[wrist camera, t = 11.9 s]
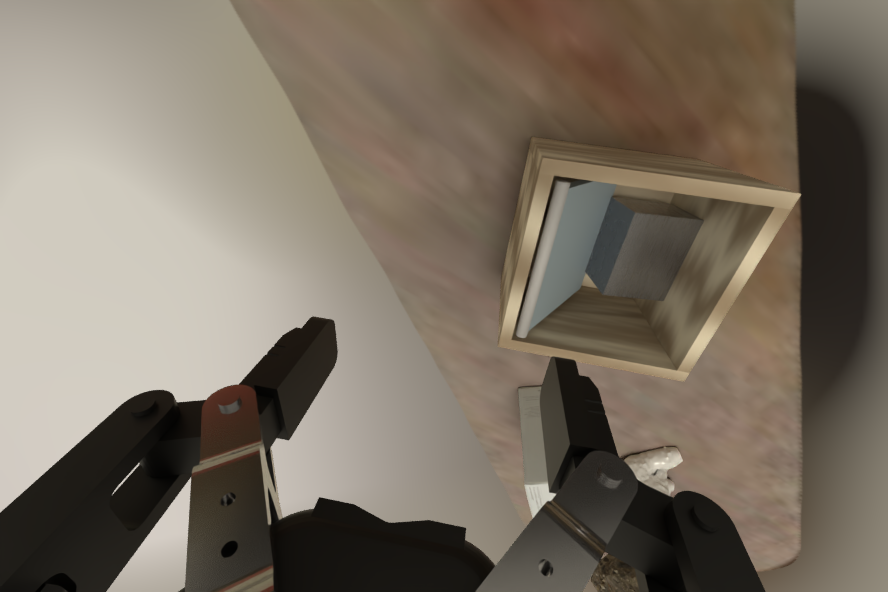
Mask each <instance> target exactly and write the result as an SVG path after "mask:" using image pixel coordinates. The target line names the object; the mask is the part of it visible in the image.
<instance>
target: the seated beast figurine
mask: <svg viewBox="0 0 888 592" xmlns="http://www.w3.org/2000/svg"><path fill="white" fill-rule="evenodd" d="M682 461H683V460H682V457H681V455H680V453H679V451H678V449H677V447H665V446H664V447H663V448H660V449H655V450H651V451H647V452H642V453H640V454H635V455H629V456H628V457H627V458H625V459H624V462H626V463H627V464H628V465H629V467H630V468H631V469H632V471H633V472H634V474H635V476H636V478H637V479H638V480H639V481H641V482H642V483H644V484H646V485H647V486H649V487H652V488H654V489H656V490H658V491H660V492H662V493H664V494H666V495H668V496H670V493H671V491H673V490H674V483H673V481H671V480H669V479H667V470H669V469H670V468H674V467H676V466H677V465H678V464H679V463H681V462H682Z"/></svg>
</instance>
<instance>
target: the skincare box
mask: <svg viewBox="0 0 888 592" xmlns="http://www.w3.org/2000/svg"><path fill="white" fill-rule="evenodd" d="M541 387H542V386H540V387H521V388H519V389H518V396H519V409H520V424H521V438H522V451H523V465H524V483H525V484H524V485H525V490H526V495H527V499H528V503H529V507H530V510H531V514H532V517H533V518H534V516H535V515H536V514H537V513H538V511H539V510H540V509H541V508H542V506H543V505H544V504H545V503H546V502H547V501H551V500H552V499H553V498H554V497H555V495H556V494H554V493H549V488H548V478H547V468H546V459H545V449H544V440H543V430H542V421H541V411H540V392H541Z"/></svg>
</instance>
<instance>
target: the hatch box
mask: <svg viewBox="0 0 888 592" xmlns="http://www.w3.org/2000/svg"><path fill="white" fill-rule="evenodd" d="M556 180H564V181H568V182H570V183H571V182H574V181H578V180H589V181H596V182H603V183H610V184H617V186H616V189H615V192H614V194H613V197H618V198H626V199H635V200H644V201H653V202H661V203H670V204H673V205H675V206H677V207H679V208H681V209H683V210H685V211H687V212H689V213H691V214H693V215H695V216H697V217H699V218H700V219H702V220H704V222H703V224H702V226H701V228H700V230H699V232H698V234H697V236H696V238H695V240H694V242H693V244H692V246H691V248H690V250H689V252H688V254H687V256H686V258H685V260H684V262H683V264H682V266H681V268H680V270H679V272H678V274H677V276H676V278H675V280H674V282H673V284H672V286H671V288H670V290H669V292H668V294H667V296H666V297H665V299H664V301H658V300H648V299H638V298H628V297H618V296H608V295H602V293H601V292H600V291H599V289H598V288H597V287H596V285H595V284H594V283H593V281H592V280H591V279H590V277H589V276H588V275H587V273H586V274H585V277H584V279H583V282H582V285H581V288H580V289H579V290H578V291H577V292H575V293H574V294H573V295H572V296H571V297H569V298H568V299H567V300H566V301H564V302H563V303H562V304H561V305H560V306H558V307H557V308H556V309H555V310H554V311H552V312H551V313H550V314H549V315H548V316H546V317H545V318H544V319H543V320H541V321H540V322H539V323H538V324H537V325H535V326H534V327H533V328H532V329H531V330H529V331H528V334H527V337H526V338H520V337H518V336H517V335H516V330H517V326H518V322H519V319H520V315H521V311H522V307H523V303H524V300H525V296H526V292H527V288H528V285H529V281H530V277H531V273H532V269H533V266H534V262H535V258H536V254H537V250H538V247H539V243H540V239H541V235H542V232H543V228H544V224H545V220H546V216H547V213H548V209H549V205H550V201H551V197H552V194H553V190H554V186H555V182H556ZM800 195H801V194H800V193H797V192H794V191H791V190H788V189H785V188H782V187H779V186H776V185H773V184H770V183H767V182H764V181H761V180H758V179H755V178H752V177H749V176H746V175H743V174H740V173H737V172H734V171H731V170H729V169H726V168H723V167H720V166H717V165H714V164H711V163H708V162H705V161H702V160H699V159H692V158H685V157H678V156H670V155H663V154H655V153H648V152H641V151H633V150H626V149H618V148H611V147H604V146H596V145H589V144H581V143H574V142H567V141H559V140H552V139H544V138H537V137H531V142H530V147H529V151H528V156H527V161H526V165H525V170H524V174H523V179H522V184H521V188H520V193H519V197H518V202H517V207H516V211H515V216H514V221H513V225H512V230H511V234H510V239H509V244H508V248H507V253H506V258H505V262H504V267H503V271H502V276H501V293H500V313H499V334H498V347H502V348H508V349H513V350H518V351H524V352H529V353H534V354H540V355H545V356H550V357H552V356H555V357H561V358H567V359H573V360H575V361H577V362H582V363H587V364H593V365H598V366H603V367H609V368H614V369H619V370H625V371H630V372H635V373H641V374H646V375H651V376H657V377H662V378H667V379H673V380H678V381H683V382H684V381H685V379H686V378H687V376H688V374H689V373H690V371H691V370H692V368H693V366H694V365H695V363H696V362H697V360H698V358H699V357H700V355H701V354H702V352H703V350H704V349H705V347H706V346H707V344H708V342H709V341H710V339H711V338H712V336H713V334H714V333H715V331H716V330H717V328H718V326H719V325H720V323H721V322H722V320H723V318H724V317H725V315H726V314H727V312H728V310H729V309H730V307H731V306H732V304H733V302H734V301H735V299H736V298H737V296H738V294H739V293H740V291H741V290H742V288H743V286H744V285H745V283H746V282H747V280H748V278H749V277H750V275H751V274H752V272H753V270H754V269H755V267H756V266H757V264H758V262H759V261H760V259H761V258H762V256H763V254H764V253H765V251H766V250H767V248H768V246H769V245H770V243H771V242H772V240H773V238H774V237H775V235H776V234H777V232H778V230H779V229H780V227H781V226H782V224H783V222H784V221H785V219H786V218H787V216H788V214H789V213H790V211H791V209H792V208H793V206H794V205H795V203H796V201H797V200H798V198H799V197H800Z"/></svg>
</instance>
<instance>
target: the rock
mask: <svg viewBox="0 0 888 592" xmlns="http://www.w3.org/2000/svg"><path fill="white" fill-rule="evenodd" d="M591 582H592V583H593V585H594V587H595V588H596V590H597V591H598V592H639V587H638V582H637V578H636V573H635V568H633V567H632V566H630V565H628V564H626V563H625V562H623V561H621V560H619V559H617V558H616V557H614V556H612V555H610V554H608V555H606V556H605V557H604V558H603V559H601V560H600V562H599V563H598V565H597V567H596V569H595V571H594V572H593V575H592V576H591Z"/></svg>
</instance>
